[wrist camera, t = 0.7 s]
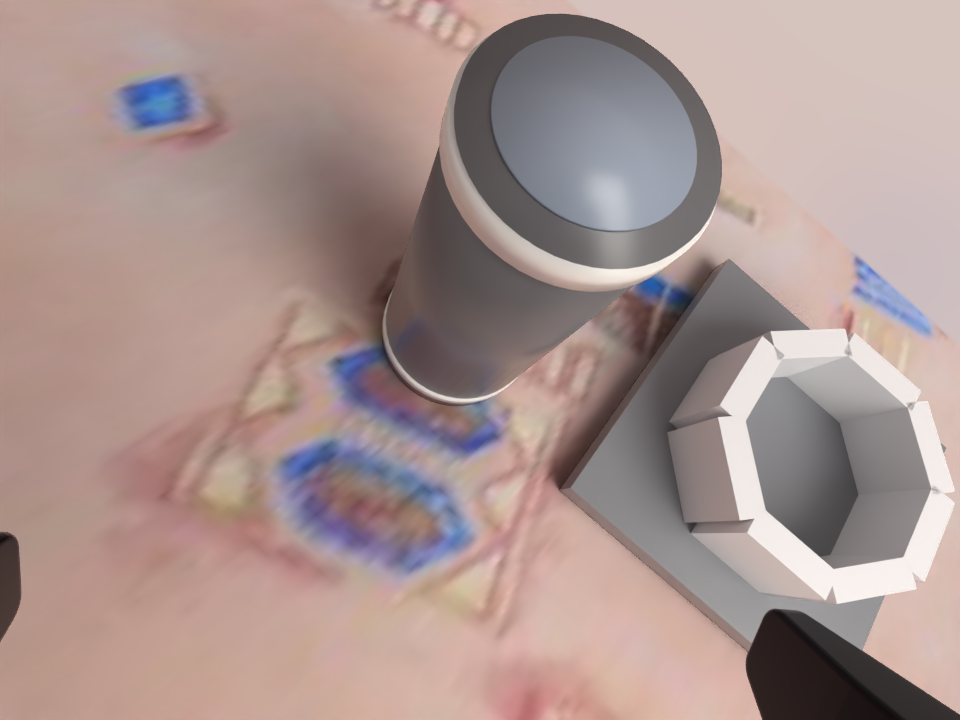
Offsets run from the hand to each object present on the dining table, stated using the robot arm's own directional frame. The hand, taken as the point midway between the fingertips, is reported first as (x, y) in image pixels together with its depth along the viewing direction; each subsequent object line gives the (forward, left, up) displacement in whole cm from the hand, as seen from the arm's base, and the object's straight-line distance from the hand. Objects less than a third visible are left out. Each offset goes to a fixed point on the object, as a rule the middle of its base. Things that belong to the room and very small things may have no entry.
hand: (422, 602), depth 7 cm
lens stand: (-4, -15, -13) cm, 20 cm away
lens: (+6, -6, -13) cm, 15 cm away
